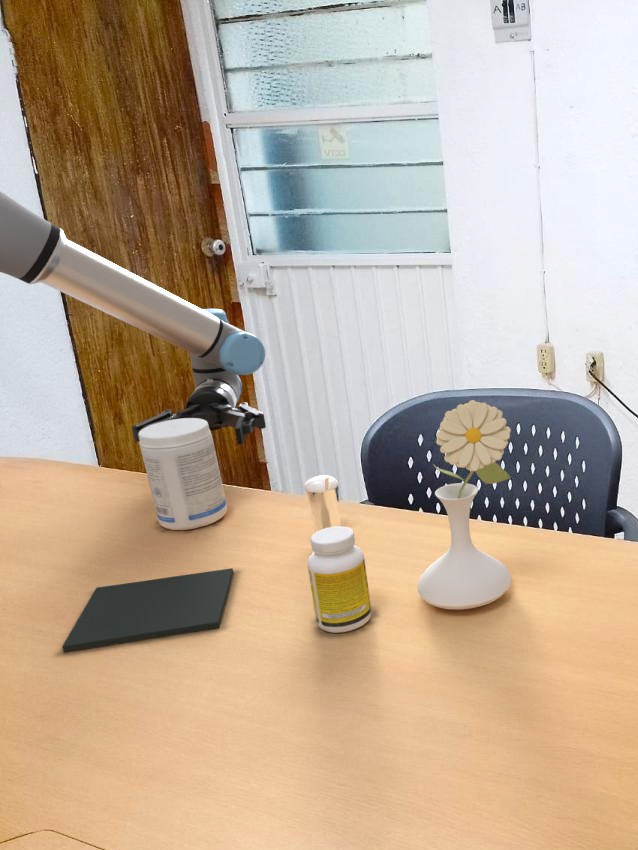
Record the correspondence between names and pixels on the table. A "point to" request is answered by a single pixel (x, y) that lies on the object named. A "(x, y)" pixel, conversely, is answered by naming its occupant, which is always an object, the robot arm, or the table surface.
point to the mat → (151, 609)
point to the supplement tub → (183, 473)
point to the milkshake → (323, 501)
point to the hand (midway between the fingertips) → (192, 441)
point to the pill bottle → (338, 580)
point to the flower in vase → (467, 510)
